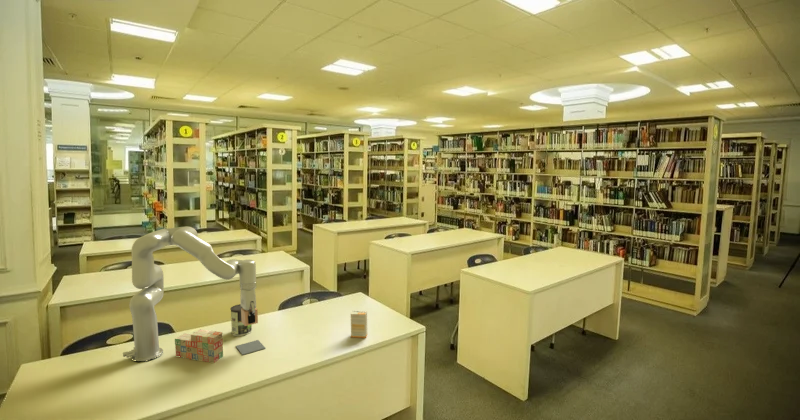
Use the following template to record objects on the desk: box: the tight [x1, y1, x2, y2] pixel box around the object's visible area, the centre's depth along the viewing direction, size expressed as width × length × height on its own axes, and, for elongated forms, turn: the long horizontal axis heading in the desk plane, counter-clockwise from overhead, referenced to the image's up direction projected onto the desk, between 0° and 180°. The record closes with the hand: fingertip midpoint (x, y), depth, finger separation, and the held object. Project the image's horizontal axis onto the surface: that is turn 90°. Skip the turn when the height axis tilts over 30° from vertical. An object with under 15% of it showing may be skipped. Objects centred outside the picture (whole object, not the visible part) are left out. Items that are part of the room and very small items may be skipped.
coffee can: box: [230, 303, 253, 337], centre depth 206 cm, size 10×10×14 cm
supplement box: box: [350, 310, 368, 339], centre depth 203 cm, size 8×5×13 cm, turn 84°
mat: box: [235, 339, 266, 356], centre depth 189 cm, size 11×11×1 cm
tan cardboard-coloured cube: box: [241, 307, 259, 326], centre depth 187 cm, size 6×6×7 cm
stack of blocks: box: [174, 329, 224, 364], centre depth 179 cm, size 21×6×12 cm, turn 77°
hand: (249, 320), depth 187 cm, fingers closed on tan cardboard-coloured cube, 6 cm apart
